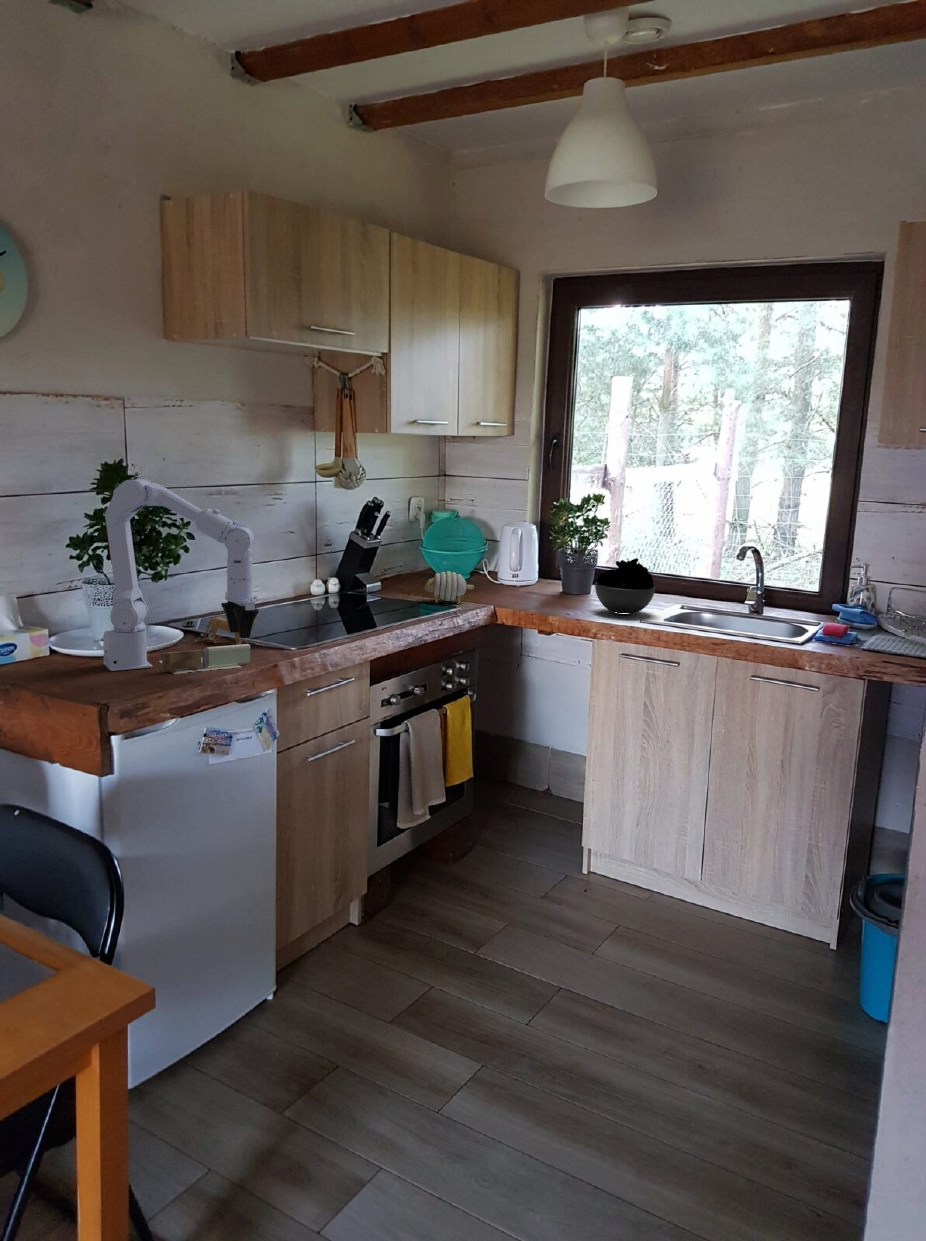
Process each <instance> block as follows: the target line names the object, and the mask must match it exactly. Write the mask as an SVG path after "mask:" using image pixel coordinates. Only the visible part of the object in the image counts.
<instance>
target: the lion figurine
mask: <svg viewBox="0 0 926 1241" xmlns="http://www.w3.org/2000/svg"><path fill="white" fill-rule="evenodd" d="M255 623H256V619H255V620H254V622H253V626H252V628H253V627H254V626H255ZM210 627H211V628H210ZM219 630H221V631H222V632H224V633H226V634H227V633H228V634H229V633H230V634H231V632H230V630H229V625H228V621H227V618H223V617H221V616H215V617H211V619H210V620H209V621H208V623H207V626H206V630H205V633H204V635H203V636H201V637H200V638H199V640H204V639H205V638H206V637H207V639H208V640H209V641H213V643H214V644H219V640H217V639H216V635H217V634H218V633H217V632H218V631H219ZM233 634H234V638H235V645H242V643H243V640H242V639H241V638H240V636H239V632H234V633H233Z"/></svg>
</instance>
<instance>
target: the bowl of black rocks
mask: <svg viewBox="0 0 926 1241" xmlns="http://www.w3.org/2000/svg"><path fill="white" fill-rule="evenodd" d="M615 565H616V566H617V568H616V569H613V568H611V569H607V570H605V572H603V573H602V572H600V573H599V576H598V577H597V582H595V583H594V590H595V594H596V596H597V599H598V600H599V602H600V604H601V605H602V606H603V607H604V608H605V609H607V610H608V611H609V612H612V613H613V612H617V613H634V614H636V613H639V612H641V611H642V610H644V609H645V608H646V607H647V606H648V605H649V604H650V602H651V601H652V599H653V597H654V594H655V591H656V587H655V586H654V585H655V584H654V579H653V575H652V574H651V573H650V572H649V568H647V567H646V566H644V565H642V564H641V563H639V558H638V557H636V558H633V559H631V560H627V561H625V560H623V559H621V560H620V561H619V560H615Z"/></svg>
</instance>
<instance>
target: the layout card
mask: <svg viewBox="0 0 926 1241" xmlns="http://www.w3.org/2000/svg"><path fill="white" fill-rule="evenodd" d="M159 663H160V664H161V665H162V660H159ZM242 667H243V666H241V665H239V663H238V664H228V665H217V666H207V667H203V666H202V667H196V668H198V670H196V671H202V672H211V671H210V670H212V671H219V670H218V669H223V670H231V669H232V668H233V669H241V668H242ZM233 669H232V670H233ZM188 672H192V673H195V672H194V671H192V670H191V669H190V668H186V669H176V673H173V675H178V674H181V673H182V674H189V673H188Z"/></svg>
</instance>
